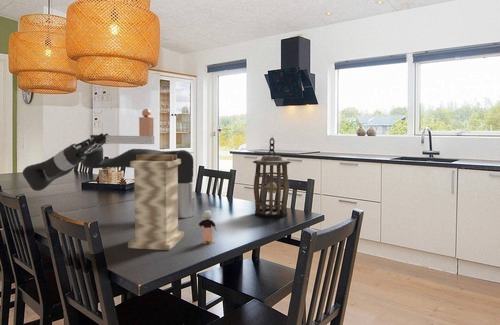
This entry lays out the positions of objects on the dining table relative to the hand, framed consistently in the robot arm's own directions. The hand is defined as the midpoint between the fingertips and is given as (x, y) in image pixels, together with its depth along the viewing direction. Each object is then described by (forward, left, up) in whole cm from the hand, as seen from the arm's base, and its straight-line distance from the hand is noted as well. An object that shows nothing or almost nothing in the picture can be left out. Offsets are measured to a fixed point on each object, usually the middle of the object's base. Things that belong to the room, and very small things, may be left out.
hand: (106, 135), depth 144 cm
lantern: (-82, -3, -41) cm, 92 cm away
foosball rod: (-5, +4, -3) cm, 7 cm away
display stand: (-16, +12, -41) cm, 46 cm away
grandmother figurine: (-32, +23, -41) cm, 57 cm away
